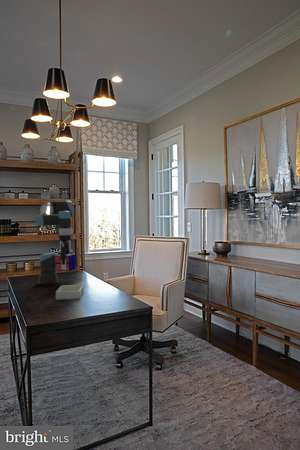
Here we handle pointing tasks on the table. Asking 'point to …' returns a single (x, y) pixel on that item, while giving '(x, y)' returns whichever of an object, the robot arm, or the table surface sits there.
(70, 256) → the puzzle cube
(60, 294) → the bin
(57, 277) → the robot arm
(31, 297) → the table surface
